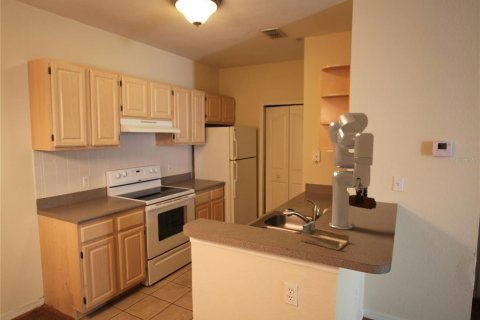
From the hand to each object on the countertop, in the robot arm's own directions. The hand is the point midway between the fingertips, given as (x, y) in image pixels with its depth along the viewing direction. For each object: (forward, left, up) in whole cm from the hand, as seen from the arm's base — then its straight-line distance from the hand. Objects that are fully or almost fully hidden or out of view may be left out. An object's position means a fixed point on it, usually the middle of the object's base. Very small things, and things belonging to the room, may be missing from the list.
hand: (361, 202), depth 127 cm
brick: (0, 0, -2) cm, 2 cm away
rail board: (0, -16, -21) cm, 26 cm away
